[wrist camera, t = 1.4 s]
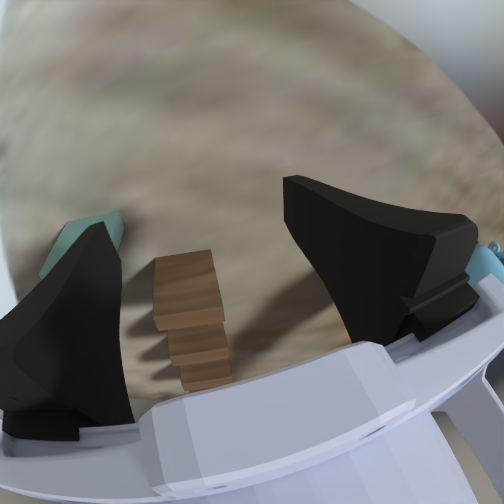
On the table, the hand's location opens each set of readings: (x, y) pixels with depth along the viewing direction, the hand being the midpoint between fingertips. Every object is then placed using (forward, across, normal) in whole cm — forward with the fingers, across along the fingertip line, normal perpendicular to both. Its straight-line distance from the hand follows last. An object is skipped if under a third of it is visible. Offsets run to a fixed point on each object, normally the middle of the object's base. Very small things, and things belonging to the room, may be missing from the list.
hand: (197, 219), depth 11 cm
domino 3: (+10, +3, +20) cm, 23 cm away
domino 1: (+11, +2, +10) cm, 15 cm away
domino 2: (+10, +2, +15) cm, 19 cm away
